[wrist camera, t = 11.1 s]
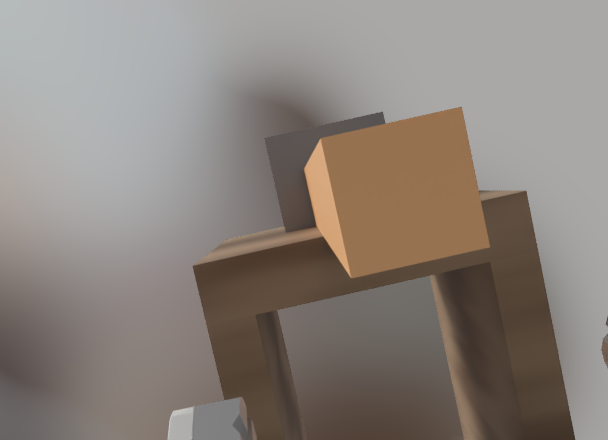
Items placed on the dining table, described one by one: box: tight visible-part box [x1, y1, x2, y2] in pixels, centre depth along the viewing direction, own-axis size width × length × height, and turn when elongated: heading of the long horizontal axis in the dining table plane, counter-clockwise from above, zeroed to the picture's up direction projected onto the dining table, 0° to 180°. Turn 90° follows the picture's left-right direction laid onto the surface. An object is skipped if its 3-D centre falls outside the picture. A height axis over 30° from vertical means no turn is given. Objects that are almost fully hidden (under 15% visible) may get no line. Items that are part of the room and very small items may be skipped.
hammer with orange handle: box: [265, 107, 490, 278], centre depth 17 cm, size 17×5×4 cm, turn 1°
